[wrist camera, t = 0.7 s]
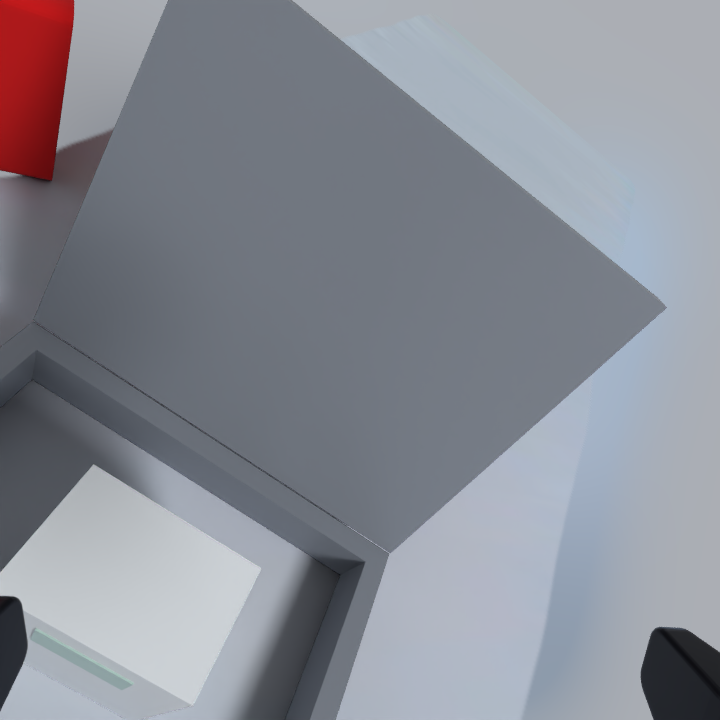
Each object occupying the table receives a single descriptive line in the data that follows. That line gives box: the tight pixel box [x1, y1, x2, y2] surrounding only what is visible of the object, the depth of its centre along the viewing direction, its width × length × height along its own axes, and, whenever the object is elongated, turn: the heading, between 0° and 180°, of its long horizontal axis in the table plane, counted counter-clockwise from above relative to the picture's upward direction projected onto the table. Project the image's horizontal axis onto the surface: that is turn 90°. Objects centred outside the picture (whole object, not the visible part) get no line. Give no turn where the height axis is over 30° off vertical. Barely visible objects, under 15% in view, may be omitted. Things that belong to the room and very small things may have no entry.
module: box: [0, 464, 262, 720], centre depth 18 cm, size 4×6×8 cm
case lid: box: [34, 0, 666, 553], centre depth 22 cm, size 16×19×1 cm
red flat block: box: [0, 0, 74, 181], centre depth 30 cm, size 15×3×10 cm, turn 16°
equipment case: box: [0, 322, 389, 720], centre depth 20 cm, size 24×19×10 cm
